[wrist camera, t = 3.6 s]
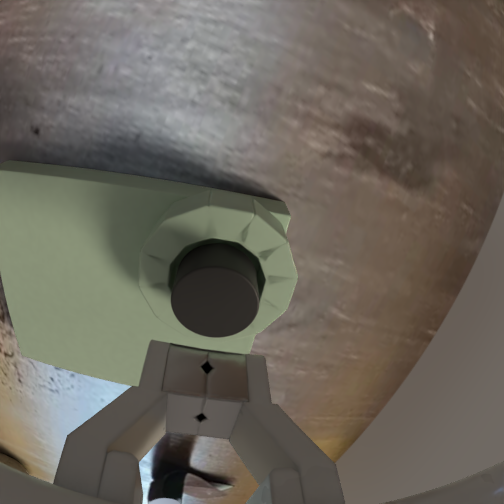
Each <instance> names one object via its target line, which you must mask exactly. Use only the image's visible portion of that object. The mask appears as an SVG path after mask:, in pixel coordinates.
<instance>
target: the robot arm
mask: <svg viewBox="0 0 504 504" xmlns="http://www.w3.org/2000/svg"><path fill="white" fill-rule="evenodd" d="M165 431H166V432H173V433H181V434H190V435H199V436H206V437H214V438H223V439H229V442H230V443H231V445H232V446H233V448H234V449H235V451H236V452H237V454H238V455H239V457H240V458H241V460H242V461H243V463H244V464H245V466H246V467H247V468H248V470H249V471H250V473H251V474H252V476H253V477H254V478H255V480H256V481H257V483H258V484H259V485H260V486H259V487H258V489H257V490H256V491H255V492H254V494H253V495H252V496H251V497H250V499H249V500H248V501H247V502H246V504H345V501H344V496H343V492H342V488H341V484H340V479H339V475H338V471H337V468H336V464H335V463H334V462H333V461H332V460H331V459H330V458H329V457H328V456H327V455H326V454H325V453H324V452H323V451H322V450H321V449H320V448H319V447H318V446H317V445H316V444H315V443H314V442H313V441H312V440H311V439H310V438H309V437H308V436H307V435H306V434H305V433H304V432H303V431H302V430H301V429H300V428H299V427H298V426H297V425H296V424H295V423H294V422H293V421H292V419H291V418H290V417H289V416H288V415H287V414H286V413H285V412H284V411H283V410H282V409H281V408H280V407H279V406H278V404H272V402H271V395H270V388H269V381H268V374H267V366H266V359H265V357H264V356H262V355H252V354H242V353H233V352H224V351H217V350H209V349H201V348H196V347H190V346H185V345H179V344H174V343H167V342H162V341H157V340H153V339H151V341H150V342H149V345H148V349H147V353H146V357H145V361H144V365H143V369H142V373H141V378H140V382H139V386H138V387H137V386H132V387H130V388H129V389H128V390H126V391H125V392H124V393H123V394H121V395H120V396H119V397H117V398H116V399H115V400H113V401H112V402H111V403H110V404H108V405H107V406H106V407H104V408H103V409H102V410H100V411H99V412H98V413H96V414H95V415H94V416H93V417H91V418H90V419H89V420H87V421H86V422H85V423H83V424H82V425H81V426H79V427H78V428H77V429H75V430H74V431H73V432H71V433H70V434H69V435H67V438H66V441H65V445H64V448H63V451H62V454H61V458H60V461H59V465H58V468H57V472H56V475H55V479H54V483H53V484H52V483H49V482H46V481H43V480H41V479H38V478H36V477H33V476H31V475H28V474H26V473H24V472H21V471H19V470H17V469H14V468H12V467H10V466H8V465H6V464H3V463H1V462H0V504H142V501H143V490H142V484H141V477H140V470H139V462H140V460H141V459H142V458H143V457H144V456H145V455H146V454H147V453H148V452H149V451H150V450H151V449H152V447H153V446H154V445H155V444H156V443H157V442H158V441H159V440H160V439H161V438H162V436H163V435H164V434H165ZM381 504H504V461H503V462H501V463H498V464H496V465H494V466H492V467H490V468H488V469H485V470H483V471H481V472H478V473H476V474H474V475H471V476H469V477H466V478H464V479H461V480H458V481H456V482H453V483H450V484H447V485H445V486H442V487H439V488H436V489H433V490H429V491H426V492H423V493H420V494H416V495H413V496H409V497H406V498H402V499H398V500H394V501H390V502H386V503H381Z"/></svg>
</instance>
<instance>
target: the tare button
mask: <svg viewBox="0 0 504 504" xmlns="http://www.w3.org/2000/svg"><path fill="white" fill-rule="evenodd" d="M259 304H260V301H259V292H258V285H257V277H256V271H255V268H254V265H253V263H252V262H251V260H250V259H249V258H248V256H247V255H246V254H244V253H243V252H242V251H241V250H239V249H237V248H235V247H233V246H230V245H227V244H222V243H209V244H204V245H201V246H198V247H196V248H194V249H192V250H191V251H190V252H188V253H187V254H186V255H185V256H184V258H183V259H182V260H181V262H180V264H179V267H178V270H177V274H176V278H175V281H174V285H173V289H172V293H171V307H172V310H173V312H174V315H175V316H176V318H177V319H178V321H179V322H180V323H181V324H182V325H183V326H184V327H185V328H187V329H188V330H190V331H192V332H194V333H196V334H198V335H202V336H206V337H213V338H221V337H228V336H231V335H235V334H237V333H239V332H241V331H243V330H244V329H246V328H247V327H248V326H249V325H250V324H251V323H252V322H253V320H254V319H255V317H256V315H257V313H258V310H259Z"/></svg>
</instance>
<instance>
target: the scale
mask: <svg viewBox="0 0 504 504" xmlns="http://www.w3.org/2000/svg"><path fill="white" fill-rule="evenodd" d="M290 218H291V215H290V213H289V211H288V208H287V206H286V204H285V202H281V201H276V200H271V199H266V198H262V197H257V196H251V195H246V194H241V193H236V192H231V191H225V190H220V189H215V188H209V187H204V186H198V185H192V184H186V183H180V182H174V181H168V180H162V179H156V178H150V177H143V176H136V175H130V174H123V173H116V172H109V171H101V170H94V169H86V168H78V167H70V166H61V165H52V164H43V163H33V162H23V161H12V160H8V161H6V162H3V163H1V164H0V274H1V279H2V284H3V289H4V293H5V297H6V302H7V306H8V310H9V314H10V317H11V321H12V325H13V328H14V332H15V335H16V338H17V342H18V345H19V348H20V351H21V354H22V356H25V357H28V358H31V359H34V360H37V361H40V362H43V363H46V364H49V365H52V366H56V367H59V368H62V369H66V370H69V371H73V372H76V373H80V374H84V375H88V376H91V377H95V378H99V379H103V380H108V381H112V382H116V383H121V384H125V385H130V386H137V387H138V386H139V382H140V378H141V373H142V369H143V365H144V361H145V357H146V353H147V349H148V345H149V342H150V341H151V339H153V340H157V341H162V342H167V343H174V344H179V345H185V346H190V347H196V348H201V349H209V350H217V351H224V352H233V353H242V354H249V353H250V350H251V347H252V344H253V341H254V338H255V334H258V332H259V333H260V332H261V331H263V330H264V329H265V328H266V327H267V326H269V325H270V324H271V323H272V322H273V321H275V320H276V319H277V318H278V317H279V316H280V315H282V314H283V313H284V312H285V310H287V308H288V305H289V303H290V300H291V297H292V294H293V291H294V288H295V285H296V283H297V280H298V274H297V271H296V267H295V263H294V260H293V256H292V253H291V249H290V246H289V242H288V239H287V237H286V232H287V229H288V225H289V222H290ZM209 243H222V244H227V245H230V246H233V247H235V248H237V249H239V250H241V251H242V252H243V253H244V254H246V255H247V256H248V258H249V259H250V260H251V262H252V263H253V265H254V268H255V271H256V277H257V285H258V292H259V301H260V304H259V310H258V313H257V315H256V317H255V319H254V320H253V322H252V323H251V324H250V325H249V326H248V327H247V328H246V329H244V330H243V331H241V332H239V333H237V334H235V335H231V336H228V337H221V338H213V337H206V336H202V335H198V334H196V333H194V332H192V331H190V330H188V329H187V328H185V327H184V326H183V325H182V324H181V323H180V322H179V321H178V319H177V318H176V316H175V315H174V312H173V310H172V307H171V293H172V289H173V285H174V281H175V278H176V274H177V270H178V267H179V264H180V262H181V260H182V259H183V258H184V256H185V255H186V254H187V253H188V252H190V251H191V250H192V249H194V248H196V247H198V246H201V245H204V244H209Z"/></svg>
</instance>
